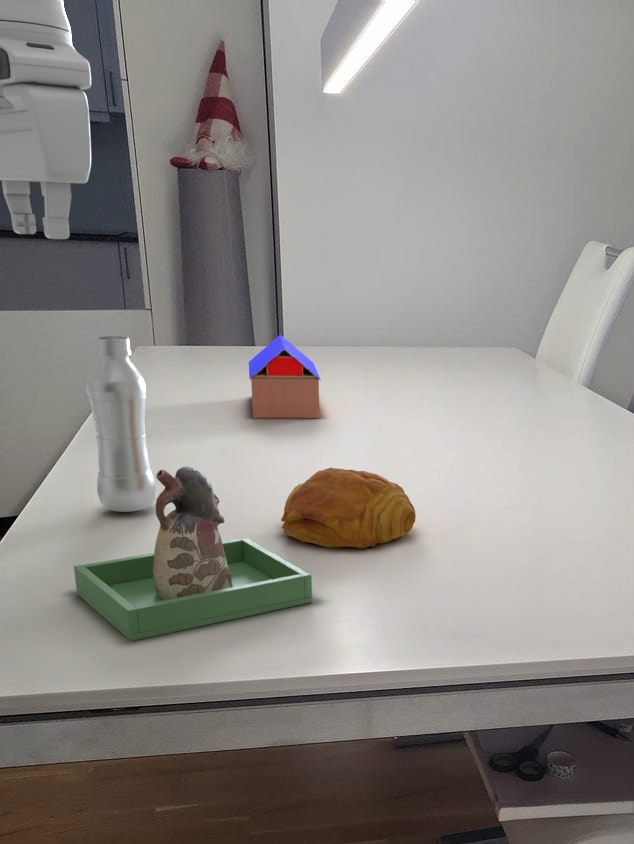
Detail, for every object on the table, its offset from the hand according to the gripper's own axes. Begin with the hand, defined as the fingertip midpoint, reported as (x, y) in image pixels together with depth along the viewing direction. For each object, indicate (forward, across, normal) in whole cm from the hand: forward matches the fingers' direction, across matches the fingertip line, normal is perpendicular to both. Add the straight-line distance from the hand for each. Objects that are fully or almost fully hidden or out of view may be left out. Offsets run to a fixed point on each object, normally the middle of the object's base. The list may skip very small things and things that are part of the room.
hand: (40, 236), depth 96 cm
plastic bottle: (+31, -14, +11) cm, 36 cm away
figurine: (+31, +18, +5) cm, 36 cm away
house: (+31, -64, +59) cm, 92 cm away
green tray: (+31, +18, +5) cm, 36 cm away
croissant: (+31, +7, +28) cm, 43 cm away
